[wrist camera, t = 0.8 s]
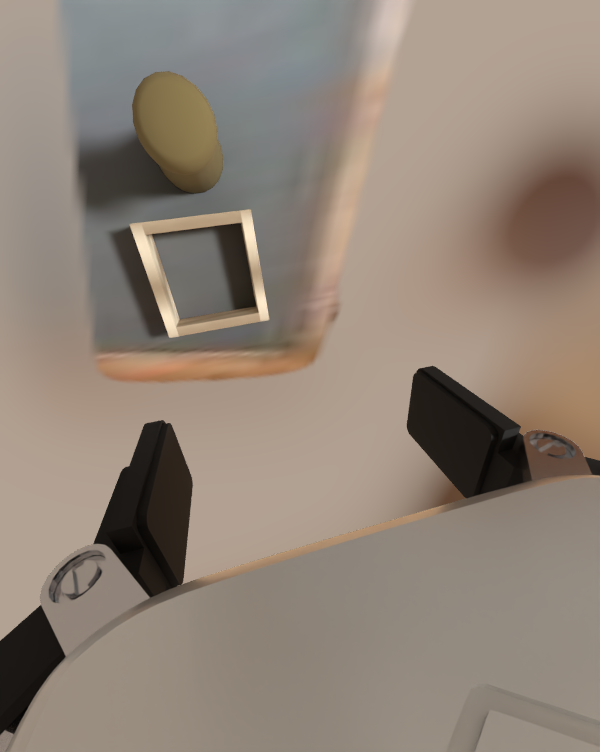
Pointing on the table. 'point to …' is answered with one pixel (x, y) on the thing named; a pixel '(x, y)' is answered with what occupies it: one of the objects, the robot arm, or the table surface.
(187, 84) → the cork
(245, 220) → the beige square frame
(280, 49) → the table surface
